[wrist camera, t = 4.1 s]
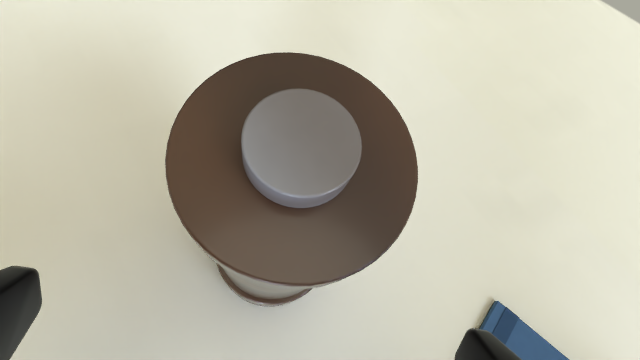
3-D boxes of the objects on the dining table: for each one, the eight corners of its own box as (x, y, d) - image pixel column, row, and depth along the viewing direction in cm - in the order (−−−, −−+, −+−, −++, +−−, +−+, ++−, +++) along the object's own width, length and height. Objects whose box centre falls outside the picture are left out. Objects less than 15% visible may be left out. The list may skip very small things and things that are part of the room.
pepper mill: (275, 329, 17) (323, 354, 5) (196, 258, 18) (86, 142, 6) (341, 248, 19) (479, 136, 7) (267, 185, 19) (289, -11, 8)
